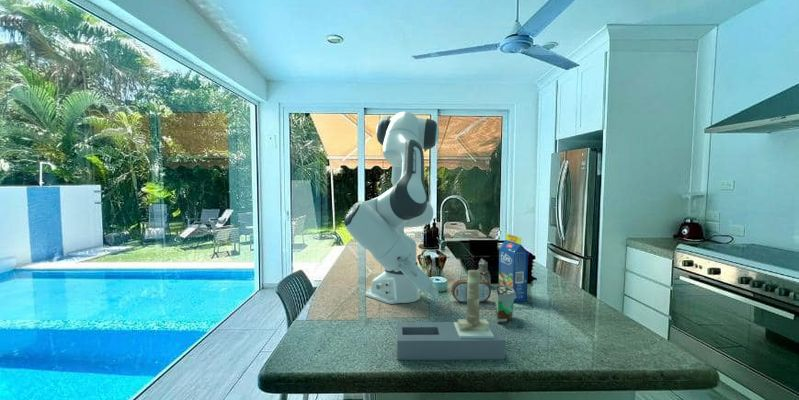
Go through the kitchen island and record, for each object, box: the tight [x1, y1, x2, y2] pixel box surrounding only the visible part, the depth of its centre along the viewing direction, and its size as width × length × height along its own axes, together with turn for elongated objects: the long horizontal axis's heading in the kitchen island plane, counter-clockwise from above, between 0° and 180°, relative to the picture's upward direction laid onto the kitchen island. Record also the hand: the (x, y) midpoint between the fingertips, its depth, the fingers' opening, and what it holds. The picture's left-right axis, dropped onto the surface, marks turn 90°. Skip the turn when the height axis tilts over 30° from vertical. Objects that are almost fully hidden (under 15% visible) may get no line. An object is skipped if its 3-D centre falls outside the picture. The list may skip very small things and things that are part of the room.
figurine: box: [476, 258, 492, 288], centre depth 154 cm, size 7×7×12 cm
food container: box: [495, 284, 516, 325], centre depth 117 cm, size 12×6×10 cm, turn 168°
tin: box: [450, 279, 492, 303], centre depth 134 cm, size 15×3×8 cm, turn 92°
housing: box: [396, 321, 506, 361], centre depth 96 cm, size 28×12×6 cm, turn 91°
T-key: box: [457, 269, 489, 331], centre depth 96 cm, size 8×3×16 cm, turn 91°
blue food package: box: [498, 232, 529, 303], centre depth 139 cm, size 6×12×25 cm, turn 10°
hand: (430, 288), depth 93 cm, fingers open, 8 cm apart
